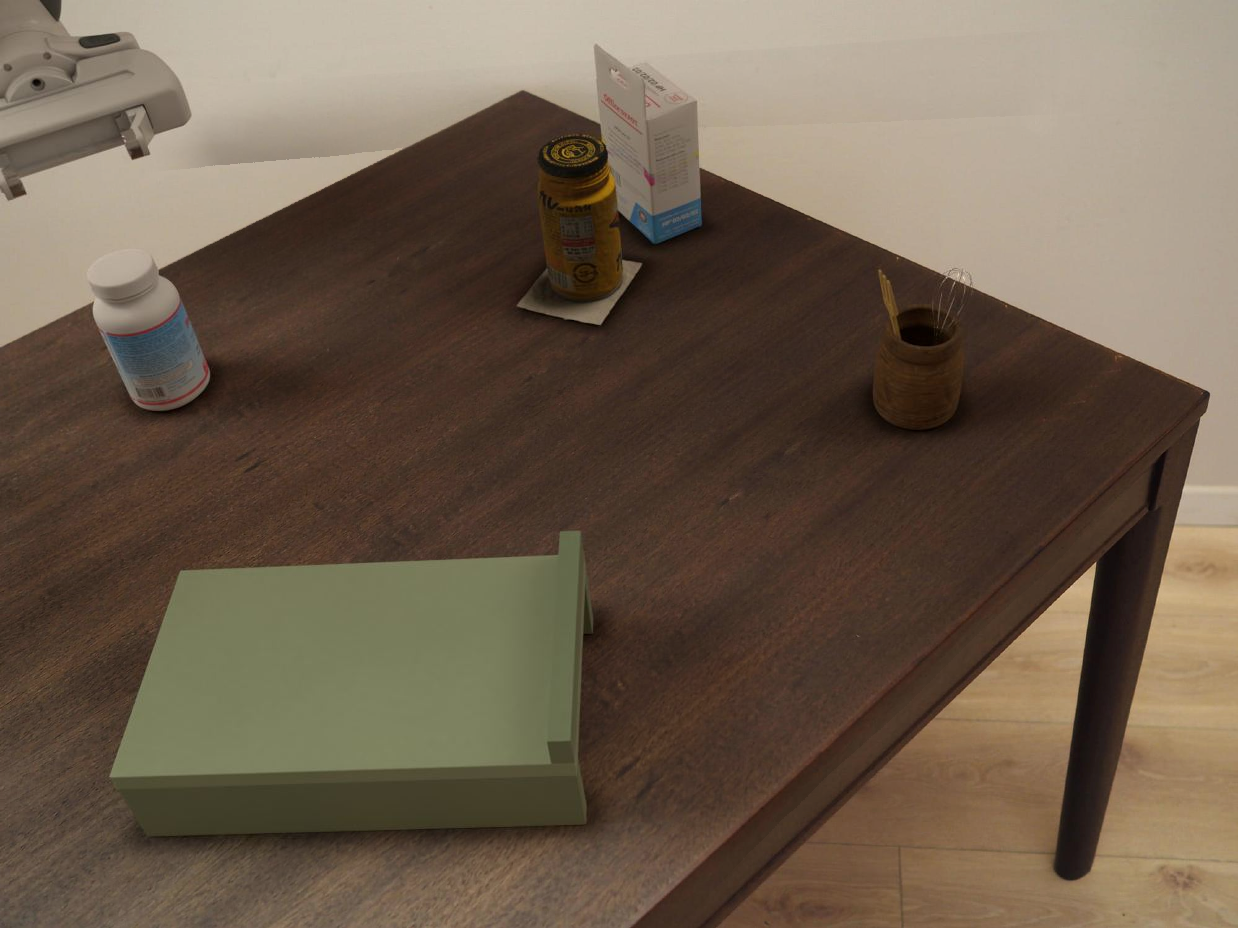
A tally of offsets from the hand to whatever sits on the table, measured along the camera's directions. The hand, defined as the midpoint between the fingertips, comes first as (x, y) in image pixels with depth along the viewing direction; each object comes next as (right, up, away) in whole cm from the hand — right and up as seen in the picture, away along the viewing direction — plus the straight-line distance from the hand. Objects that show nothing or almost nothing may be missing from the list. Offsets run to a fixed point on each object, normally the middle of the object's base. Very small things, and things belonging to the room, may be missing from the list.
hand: (76, 169), depth 96 cm
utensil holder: (+62, -18, -7) cm, 65 cm away
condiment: (+38, -8, +6) cm, 39 cm away
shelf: (+27, -37, -22) cm, 51 cm away
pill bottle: (+7, -17, +1) cm, 18 cm away
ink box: (+44, -1, +13) cm, 46 cm away
